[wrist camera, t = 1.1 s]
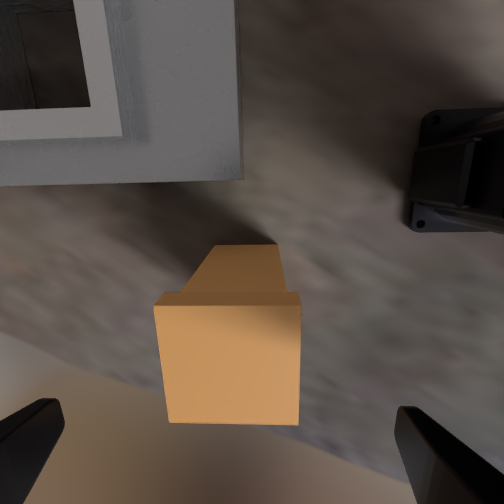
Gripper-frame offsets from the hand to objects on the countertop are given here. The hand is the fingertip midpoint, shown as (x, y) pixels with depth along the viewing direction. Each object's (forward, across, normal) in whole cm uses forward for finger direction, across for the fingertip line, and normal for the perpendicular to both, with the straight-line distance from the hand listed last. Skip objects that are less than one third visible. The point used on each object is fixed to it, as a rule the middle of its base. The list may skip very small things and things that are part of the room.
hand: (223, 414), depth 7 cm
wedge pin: (+11, 0, 0) cm, 11 cm away
